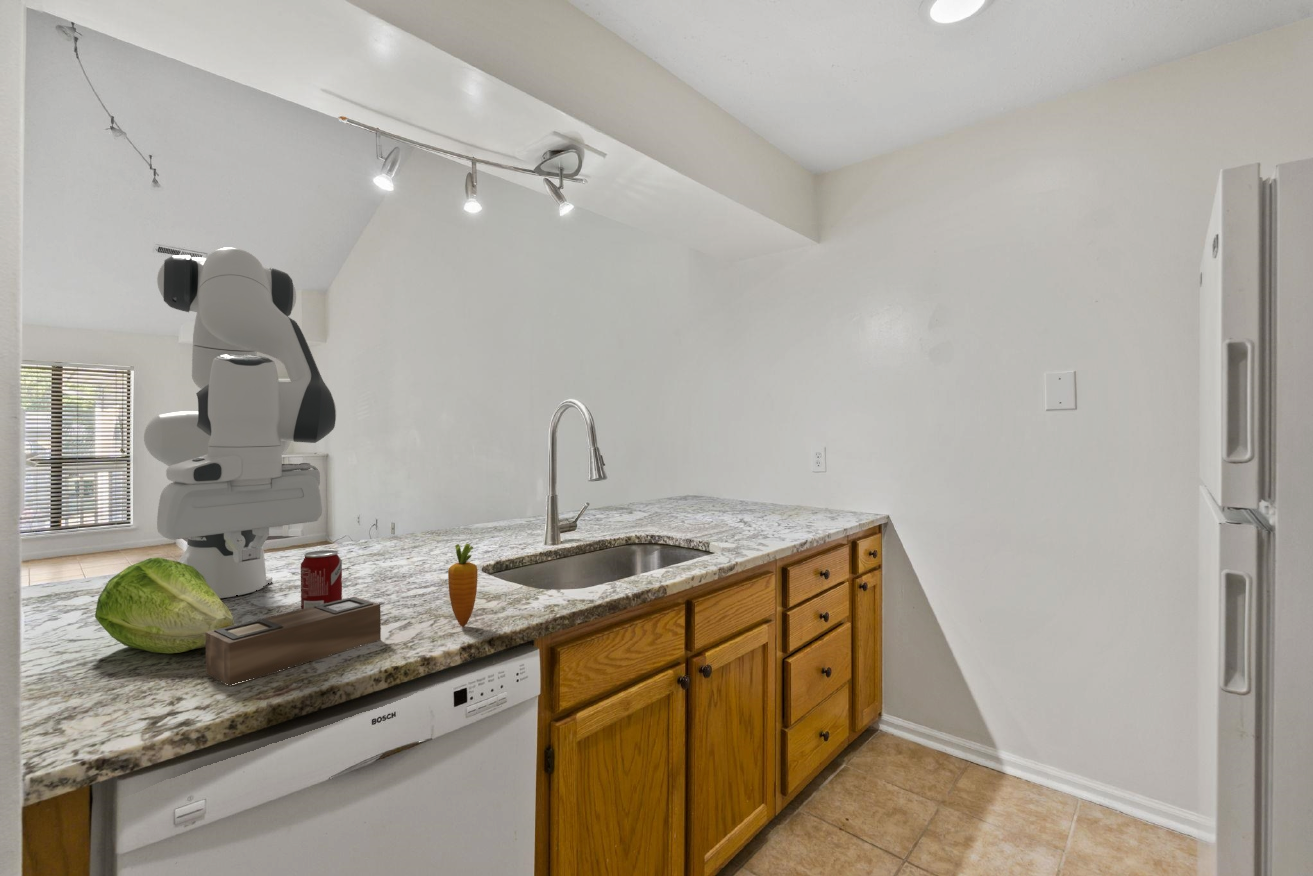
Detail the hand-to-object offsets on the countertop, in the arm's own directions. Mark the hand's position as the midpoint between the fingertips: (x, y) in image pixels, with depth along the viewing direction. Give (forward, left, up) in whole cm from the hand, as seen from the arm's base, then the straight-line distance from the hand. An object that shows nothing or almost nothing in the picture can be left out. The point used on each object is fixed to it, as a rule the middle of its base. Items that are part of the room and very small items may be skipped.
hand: (247, 560), depth 88 cm
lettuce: (-18, -3, -16) cm, 24 cm away
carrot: (+10, +30, -16) cm, 36 cm away
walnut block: (0, +7, -16) cm, 18 cm away
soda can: (-17, +19, -16) cm, 30 cm away
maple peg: (0, 0, -16) cm, 16 cm away
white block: (0, +14, -16) cm, 21 cm away
